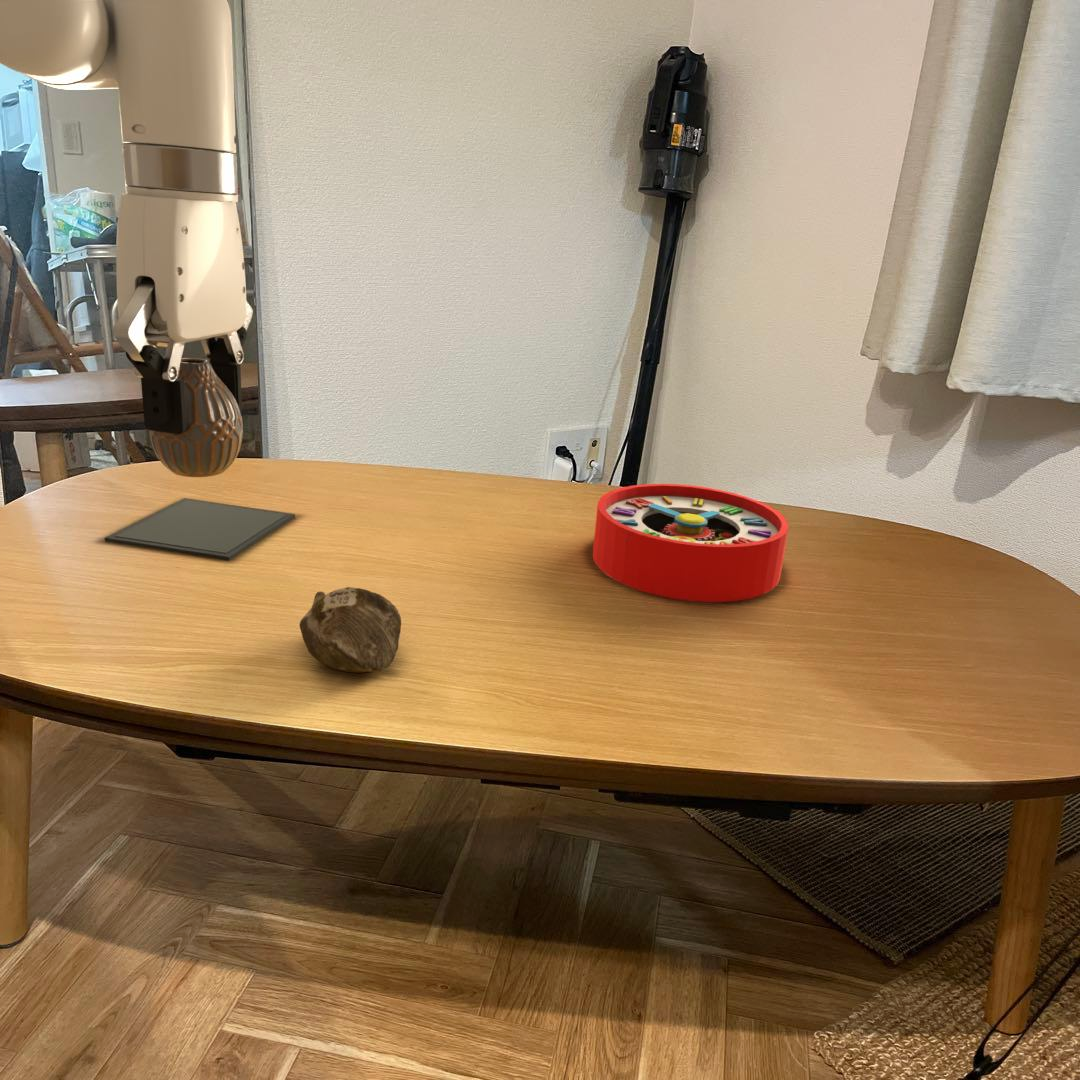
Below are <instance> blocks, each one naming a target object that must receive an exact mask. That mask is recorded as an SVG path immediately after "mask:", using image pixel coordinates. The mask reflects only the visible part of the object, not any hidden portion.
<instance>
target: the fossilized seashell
mask: <svg viewBox="0 0 1080 1080" xmlns="http://www.w3.org/2000/svg"><path fill="white" fill-rule="evenodd" d="M401 628H402V618H401V614H400V613H399V610H398V608H397V607H396V606H395V604H393V603H392V602H391V600H389V599H387V598H386V597H385V596H383V595H382V594H379V593H377V592H373V591H371V590H368V589H364V588H361V587H360V588H359V587H350V586H346V587H343V588H338V589H334V590H333V591H330V592H327V593H326V594H325V592H324V591H317V592H316V593H315V594H314V598H313V601H312V605H311V608H310V609H308V611H307V613H306V614H305V615H304V616H303V617H302V618H301V620H300V622H299V629H300V632H301V637H302V640H303V642H304V644H305V647H306V649H307V651H308V653H309V654H310V655H311V656H312V657H313V658H314V659H316V661H318V662H320V663H321V664H323V665H325V666H327V667H330V668H331V669H335V670H338V671H343V672H346V673H357V674H359V673H373V672H374V673H378V672H379V673H380V672H382V671H383V670H384V669H387V668H388V667H390V665H391V664H392V663H393V661H394V659H395V657H396V653H397V652H398V649H399V642H400V635H401V630H402V629H401Z"/></svg>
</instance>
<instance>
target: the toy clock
mask: <svg viewBox="0 0 1080 1080" xmlns="http://www.w3.org/2000/svg"><path fill="white" fill-rule="evenodd" d="M789 528H790V527H789V522H788V520H787V519H786V516H784V515H783V514H782V513H781V512H780V511H778V510H777V509H775V508H773V507H771V506H770V505H768V504H766V503H764V502H762V501H759V500H757V499H754V498H751V497H748V496H746V495H741V494H738V493H736V492H730V491H727V490H722V489H717V488H712V487H706V486H698V485H690V484H677V483H645V484H635V485H628V486H624V487H623V486H622V487H620V488H615V489H612V490H610V491H608V492H606V493H605V494H602V496H600V497H599V499H598V501H597V507H596V517H595V527H594V538H593V547H592V559H593V561H594V563H595V565H596V566H597V568H598V569H599V570H600V571H601V572H603V573H604V574H605V575H606V576H608V577H609V578H611V579H613V580H615V581H617V582H618V583H620V584H622V585H625V586H627V587H630V588H632V589H636V590H638V591H641V592H644V593H648V594H651V595H656V596H660V597H664V598H668V599H674V600H675V599H676V600H681V601H690V602H704V603H725V602H739V601H744V600H749V599H754V598H756V597H761V596H763V595H766V594H767V593H769V592H771V591H773V590H774V589H775V588H776V587H777V586H778V584H779V582H780V579H781V574H782V570H783V563H784V556H785V552H786V545H787V540H788V535H789V534H788V533H789Z"/></svg>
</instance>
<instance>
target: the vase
mask: <svg viewBox="0 0 1080 1080" xmlns="http://www.w3.org/2000/svg"><path fill="white" fill-rule="evenodd" d="M209 361H210V360H208V359H206V358H205V359H204V358H196V357H182V359H181V363H180V368H179V372H178V376H177V379H179V380H184V387H185V403H186V420H187V431H186V432H185V433H182V434H172V433H165V432H158V431H152V430H148V434H149V440H150V443H151V446H152V449H153V451H154V454H155V455H156V457H157V459H158V461H160V462H161V464H162V465H163V466H164V467H165V468H166V469H168V470H169V471H170V472H172V473H173V474H174V475H176V476H180V477H184V478H185V477H187V478H209V477H214V476H218V475H221V474H223V473H224V472H226V471H227V470H228V469H229V468H230V467H231V466H232V465H233V463H234V462H235V460H237V458H238V455H239V454H240V450H241V448H242V442H243V433H244V432H243V430H244V429H243V428H244V427H243V418H242V413H241V412H240V410H239V407H238V404H237V402H236V400H235V398H234V396H233V395H232V393H231V392H230V391H229V389H228V388H227V387H226V386H225V384H224V383H223V382H222V381H221V380H220V379H219V377H218V376H217V375H216V373H215V372H214V370H213V368H212V366H211V364H210V362H209Z"/></svg>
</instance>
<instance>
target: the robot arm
mask: <svg viewBox="0 0 1080 1080" xmlns="http://www.w3.org/2000/svg"><path fill="white" fill-rule="evenodd" d="M232 26H233V23H232V11H231V7H230V4H229V2H228V0H0V64H1V65H3V66H5V67H6V68H7V69H10V70H12V71H15V72H17V73H20V74H22V75H24V76H25V77H28V78H30V79H31V80H34V81H36V82H38V83H40V84H42V85H45V86H48V87H51V88H55V89H59V90H60V89H62V90H71V91H72V90H73V91H74V90H75V91H81V90H104V89H105V90H109V89H110V90H111V89H113V90H114V89H115V90H116V89H117V90H118V91H117V93H118V105H119V117H120V119H119V120H120V129H121V142H122V158H123V170H124V171H123V172H124V182H125V193H121V195H120V199H119V200H120V201H119V207H118V215H117V225H116V245H115V248H116V249H115V262H116V263H115V265H116V266H115V268H116V270H115V271H116V272H115V273H116V276H115V277H116V278H115V279H116V299H117V300H116V304H117V317H118V318H117V320H116V322H115V323H114V325H113V327H112V335H113V337H114V339H115V340H116V341H117V342H118V344H119V345H120V346H121V348H122V349H123V351H124V352H125V356H126V358H127V360H128V361H129V362H130V363H131V364H132V366H133V367H134V368H133V371H134V375H135V376H136V377H137V378H140V385H141V398H142V411H143V423H144V427H145V429H146V430H148V431H149V430H152V431H158V432H165V433H172V434H182V433H185V432H186V431H187V420H186V403H185V387H184V380H179V379H177V376H178V372H179V368H180V363H181V359H183V355H184V349H185V345H186V343H192V342H196V341H200V343H201V347H202V349H203V352H204V354H205V357H206V360H208V361H209V362H210V364H211V366H212V368H213V370H214V372H215V373H216V375H217V376H218V377H219V379H220V380H221V381H222V382H223V383H224V384H225V386H226V387H227V388H228V389H229V391H230V392H231V393H232V395H233V396H234V398H235V400H236V402H237V404H238V407H239V410H240V413H241V412H242V411H243V400H242V399H243V397H242V372H241V364H242V363H243V362H244V358H245V354H244V353H245V352H244V350H243V347H244V345H245V342H246V340H247V338H248V332H247V331H248V329H249V326H250V323H251V321H252V318H253V315H254V311H253V307H252V306H251V305H250V304H249V301H248V300H247V284H246V269H245V258H244V257H245V256H244V248H243V247H244V246H243V238H242V231H241V224H240V218H239V214H238V208H237V203H239V195H238V194H239V190H238V189H239V188H238V164H237V163H238V162H237V161H238V159H237V154H236V153H237V138H236V137H237V135H236V110H235V109H236V108H235V107H236V106H235V105H236V104H235V79H234V54H233V53H234V51H233V49H234V48H233V27H232ZM157 347H163V348H166V350H165V354H164V357H163V356H162V355H161V353H160V352H159V351H158V349H157Z"/></svg>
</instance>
